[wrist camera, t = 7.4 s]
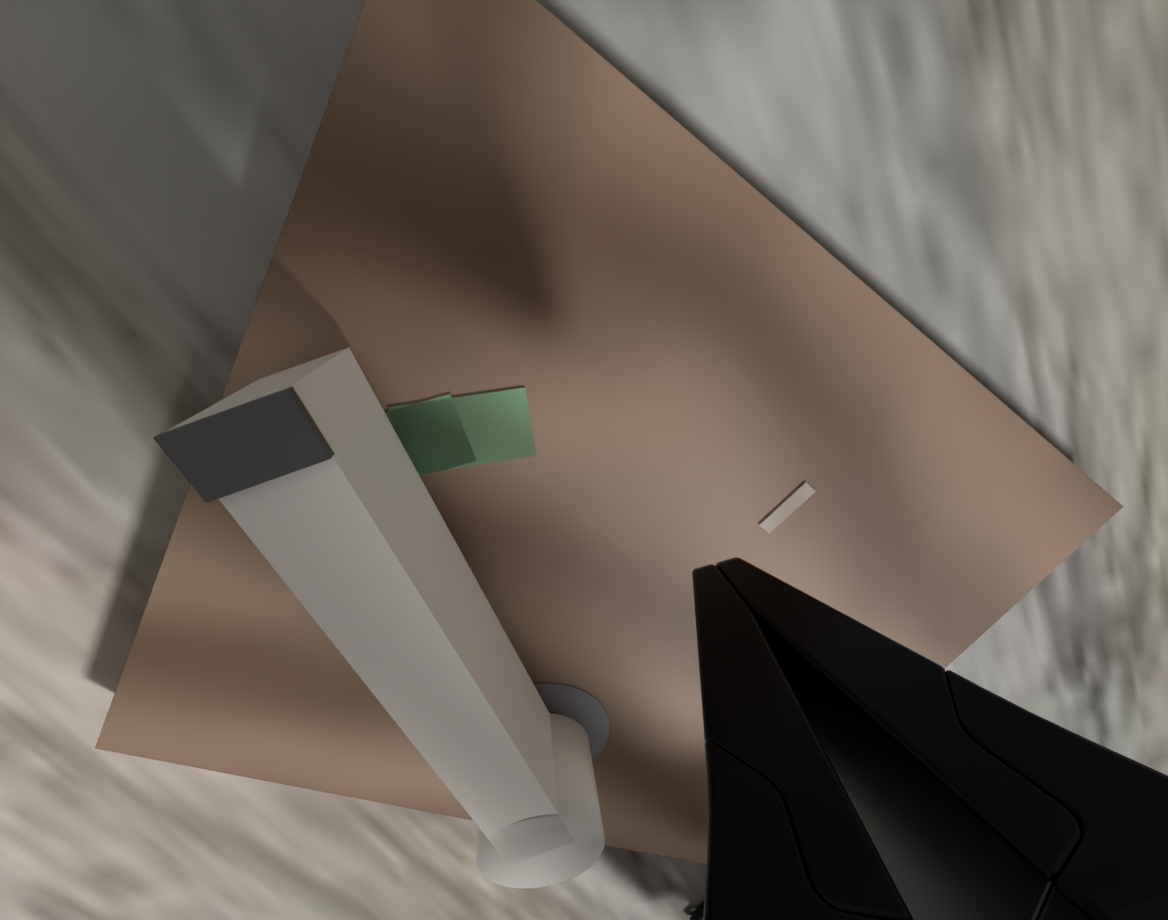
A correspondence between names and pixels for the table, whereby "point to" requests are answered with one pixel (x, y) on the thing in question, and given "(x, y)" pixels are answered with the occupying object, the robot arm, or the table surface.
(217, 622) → the plate
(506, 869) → the peg lever
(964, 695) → the robot arm
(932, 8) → the table surface
